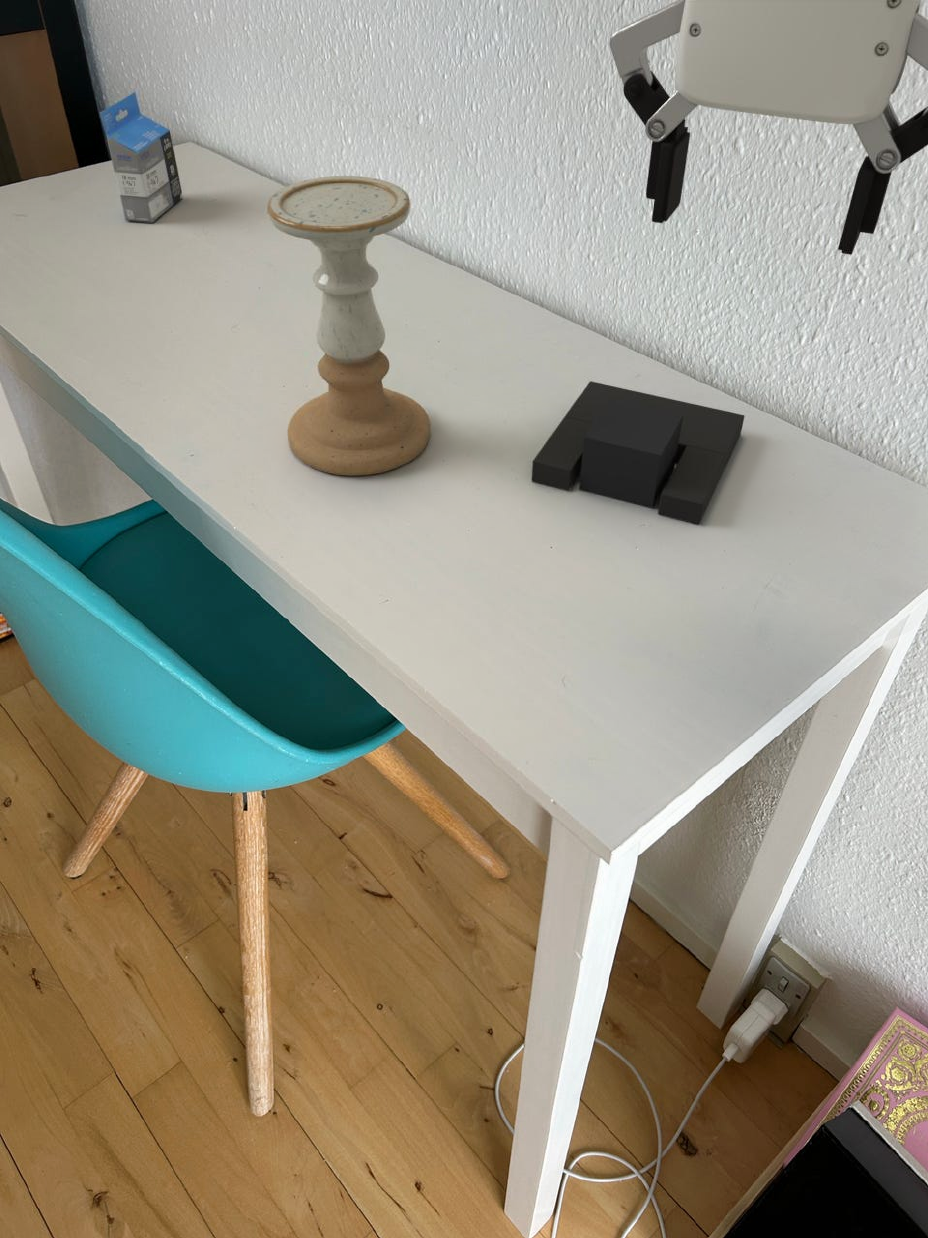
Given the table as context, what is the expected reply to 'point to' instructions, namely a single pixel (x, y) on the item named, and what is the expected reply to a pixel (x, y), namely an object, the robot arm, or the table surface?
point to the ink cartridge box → (141, 162)
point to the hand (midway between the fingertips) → (754, 228)
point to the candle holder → (350, 329)
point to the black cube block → (630, 452)
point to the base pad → (697, 458)
